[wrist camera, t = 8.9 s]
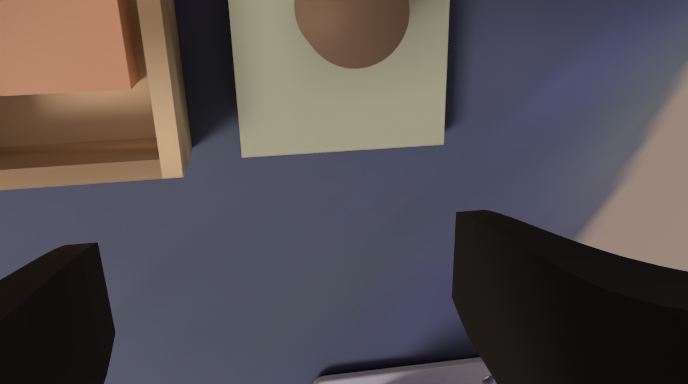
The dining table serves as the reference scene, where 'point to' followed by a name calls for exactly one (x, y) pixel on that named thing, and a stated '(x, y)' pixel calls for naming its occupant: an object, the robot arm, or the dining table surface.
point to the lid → (339, 74)
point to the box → (105, 120)
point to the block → (66, 46)
